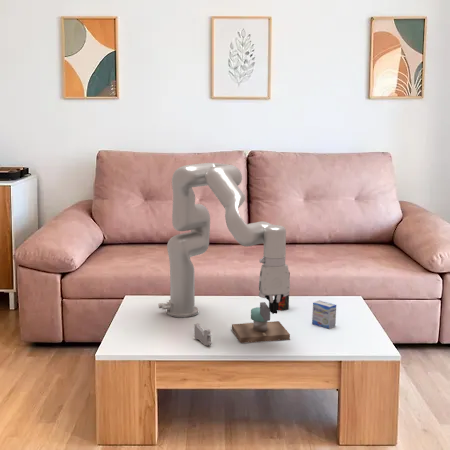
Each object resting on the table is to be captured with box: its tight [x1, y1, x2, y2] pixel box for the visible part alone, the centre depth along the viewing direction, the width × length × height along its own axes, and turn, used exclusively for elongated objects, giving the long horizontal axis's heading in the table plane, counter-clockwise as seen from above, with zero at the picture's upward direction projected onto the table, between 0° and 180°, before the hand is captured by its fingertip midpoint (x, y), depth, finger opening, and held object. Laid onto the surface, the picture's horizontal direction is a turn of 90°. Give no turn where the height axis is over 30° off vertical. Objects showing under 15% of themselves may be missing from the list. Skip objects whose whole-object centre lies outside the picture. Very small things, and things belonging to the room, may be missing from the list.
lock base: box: [231, 320, 291, 344], centre depth 248 cm, size 18×14×6 cm
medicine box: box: [311, 300, 337, 330], centre depth 258 cm, size 8×4×9 cm, turn 47°
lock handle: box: [250, 301, 271, 322], centre depth 243 cm, size 14×7×7 cm, turn 9°
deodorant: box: [273, 271, 291, 312], centre depth 277 cm, size 6×6×15 cm
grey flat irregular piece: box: [193, 323, 213, 347], centre depth 240 cm, size 6×1×10 cm
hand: (273, 312), depth 240 cm, fingers closed
